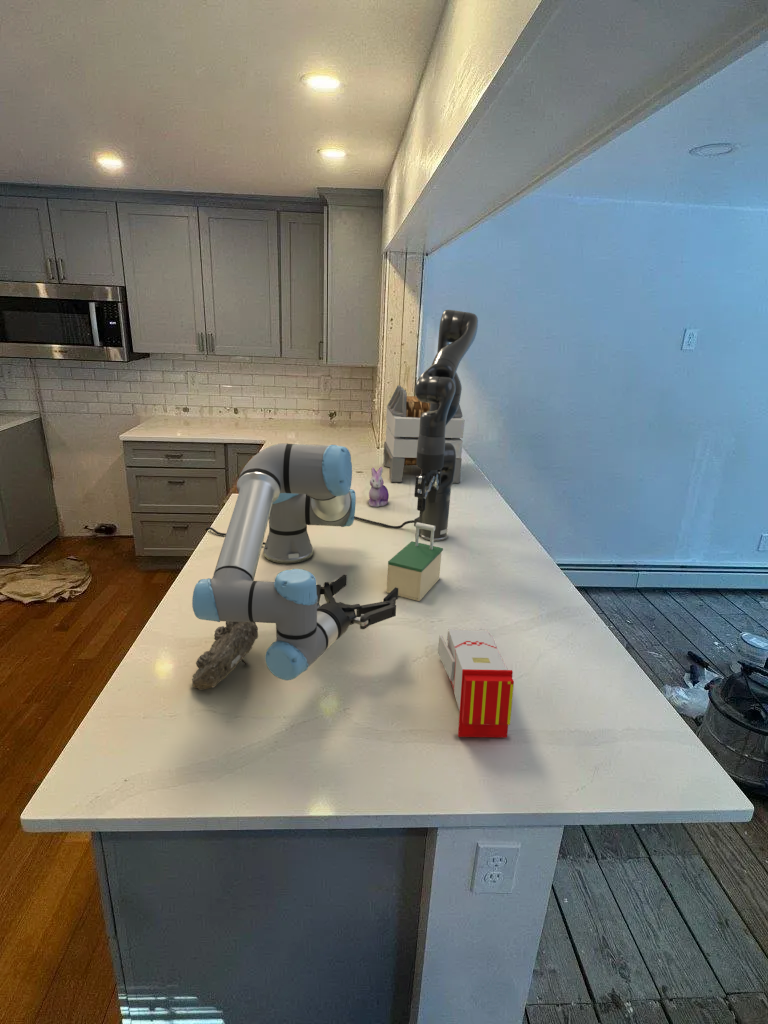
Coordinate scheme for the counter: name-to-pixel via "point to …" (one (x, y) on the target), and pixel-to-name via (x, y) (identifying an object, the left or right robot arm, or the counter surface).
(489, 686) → the toy
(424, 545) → the lid
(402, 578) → the chest
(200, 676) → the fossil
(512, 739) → the counter surface
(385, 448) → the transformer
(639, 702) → the counter surface
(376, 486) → the figurine
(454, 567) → the counter surface
